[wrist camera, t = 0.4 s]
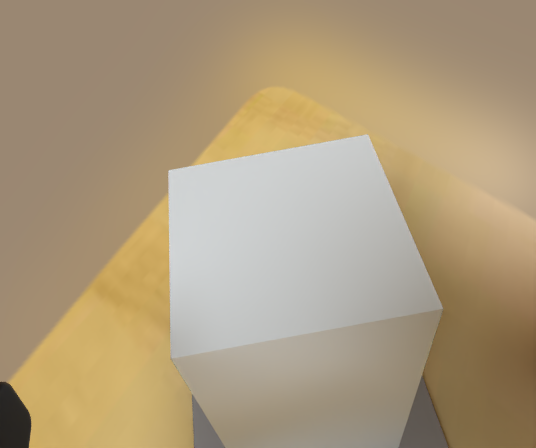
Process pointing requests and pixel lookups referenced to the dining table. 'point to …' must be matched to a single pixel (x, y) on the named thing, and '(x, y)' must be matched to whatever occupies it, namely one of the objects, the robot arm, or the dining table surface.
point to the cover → (298, 298)
